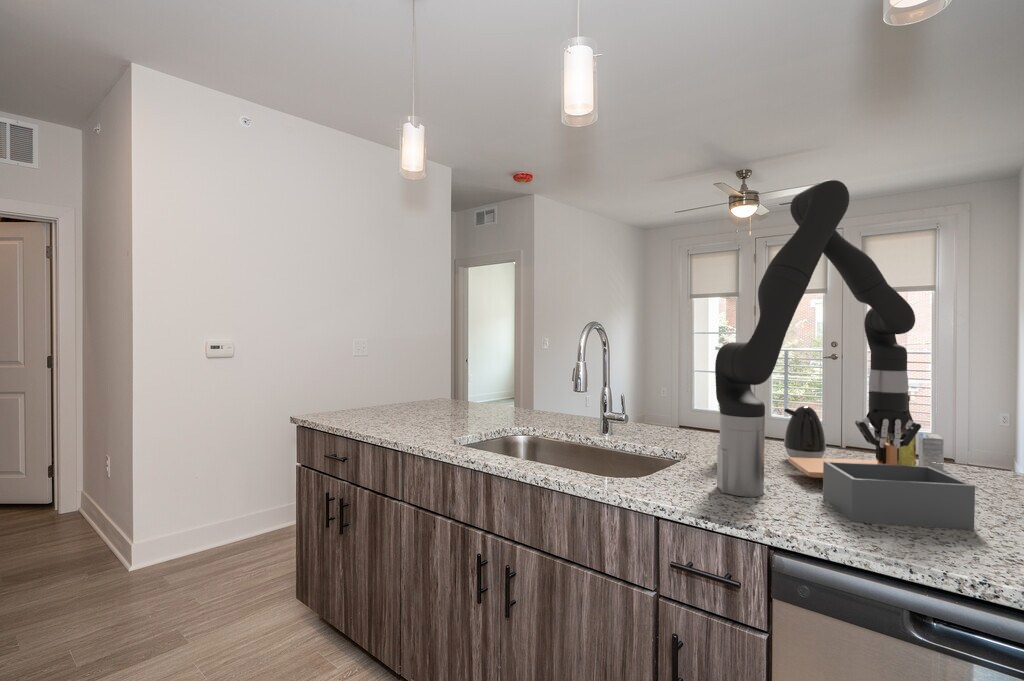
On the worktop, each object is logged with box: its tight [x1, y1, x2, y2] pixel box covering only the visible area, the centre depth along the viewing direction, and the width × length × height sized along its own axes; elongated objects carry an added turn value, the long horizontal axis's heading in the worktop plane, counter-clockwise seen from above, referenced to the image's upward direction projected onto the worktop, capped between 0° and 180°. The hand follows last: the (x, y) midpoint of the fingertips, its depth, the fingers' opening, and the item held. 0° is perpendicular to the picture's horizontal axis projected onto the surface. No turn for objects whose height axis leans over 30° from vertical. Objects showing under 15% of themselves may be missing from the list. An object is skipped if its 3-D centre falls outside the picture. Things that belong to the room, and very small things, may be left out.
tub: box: [822, 461, 976, 531], centre depth 104 cm, size 20×14×8 cm
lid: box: [787, 443, 897, 479], centre depth 125 cm, size 21×15×7 cm
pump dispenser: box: [783, 405, 827, 458], centre depth 146 cm, size 10×10×15 cm
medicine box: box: [918, 432, 945, 473], centre depth 139 cm, size 8×4×9 cm, turn 148°
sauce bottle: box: [886, 394, 917, 466], centre depth 135 cm, size 7×6×20 cm
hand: (886, 462), depth 124 cm, fingers closed on lid, 1 cm apart
